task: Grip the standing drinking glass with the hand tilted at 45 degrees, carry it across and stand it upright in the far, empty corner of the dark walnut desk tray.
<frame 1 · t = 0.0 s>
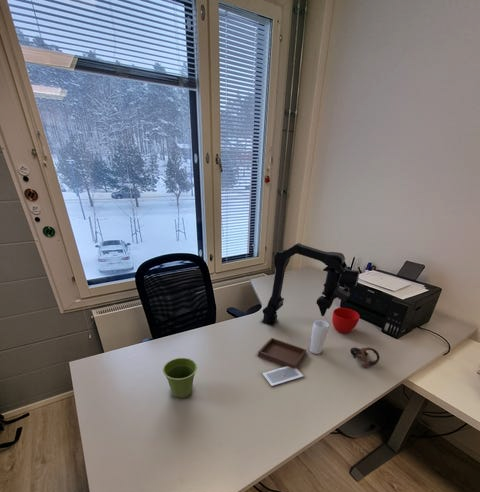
hand: (325, 312, 128), 15 cm above the table, tool pointing down, fingers open, 9 cm apart
pottery mug: (361, 361, 120), on the table
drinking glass: (315, 351, 125), on the table
plant pot: (182, 391, 100), on the table
ceramic cup: (340, 328, 144), on the table
tray: (282, 355, 121), on the table
touchpad: (282, 377, 110), on the table, touching tray
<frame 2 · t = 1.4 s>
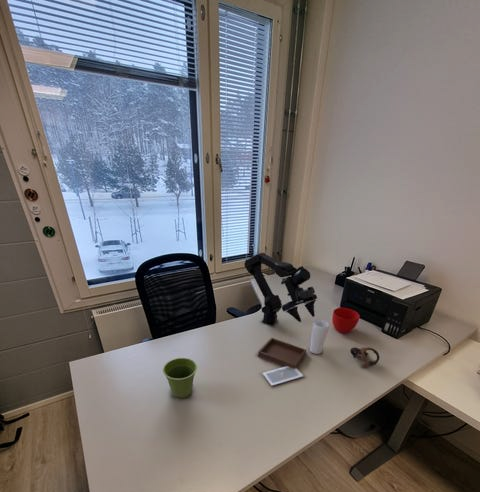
hand: (307, 319, 124), 13 cm above the table, tool tilted 45°, fingers open, 9 cm apart
nothing on the table moved.
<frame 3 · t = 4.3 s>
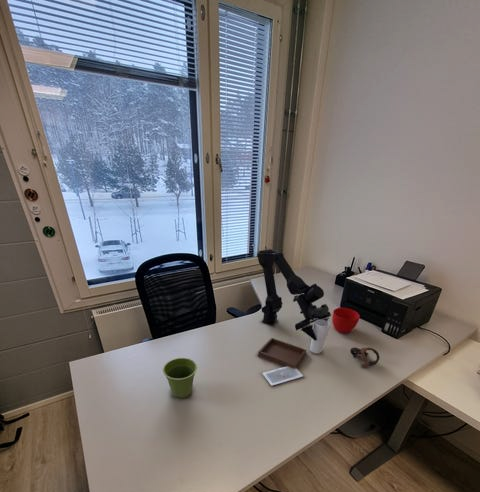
hand: (321, 337, 120), 8 cm above the table, tool tilted 45°, fingers closed on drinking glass, 7 cm apart
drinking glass: (315, 351, 125), on the table, touching gripper
touchpad: (282, 376, 110), on the table
everything else where it was.
when the fingers open (9 cm above the table, at t = 10.7 s): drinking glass stays where it is, resting on tray.
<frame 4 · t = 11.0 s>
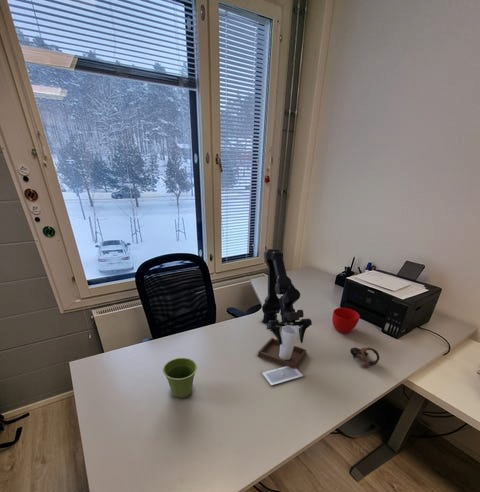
hand: (291, 343, 113), 9 cm above the table, tool tilted 45°, fingers open, 9 cm apart
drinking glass: (284, 357, 119), resting on tray, touching gripper
everything else where it was.
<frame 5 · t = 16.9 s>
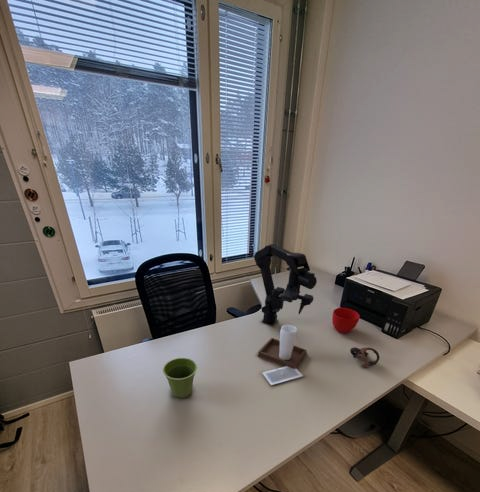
hand: (290, 311, 131), 13 cm above the table, tool pointing down, fingers open, 9 cm apart
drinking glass: (284, 357, 119), resting on tray
everything else where it was.
at the end: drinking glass 1.4 cm from the target spot in the tray, point 0.3 cm above the tray's base; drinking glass tilted 0°; the gripper is holding nothing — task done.
